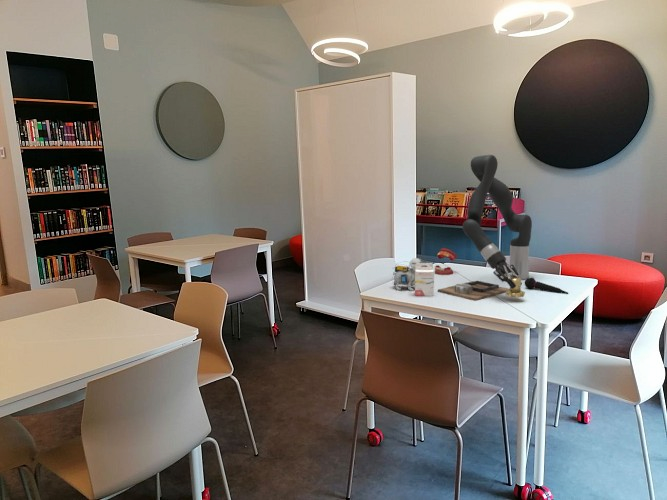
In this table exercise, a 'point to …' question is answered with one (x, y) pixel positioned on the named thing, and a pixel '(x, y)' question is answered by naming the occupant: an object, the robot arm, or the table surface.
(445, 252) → the anatomical model
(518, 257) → the robot arm
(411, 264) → the robotic toy
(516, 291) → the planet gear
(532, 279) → the microphone
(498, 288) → the carrier plate
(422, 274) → the ink cartridge box
